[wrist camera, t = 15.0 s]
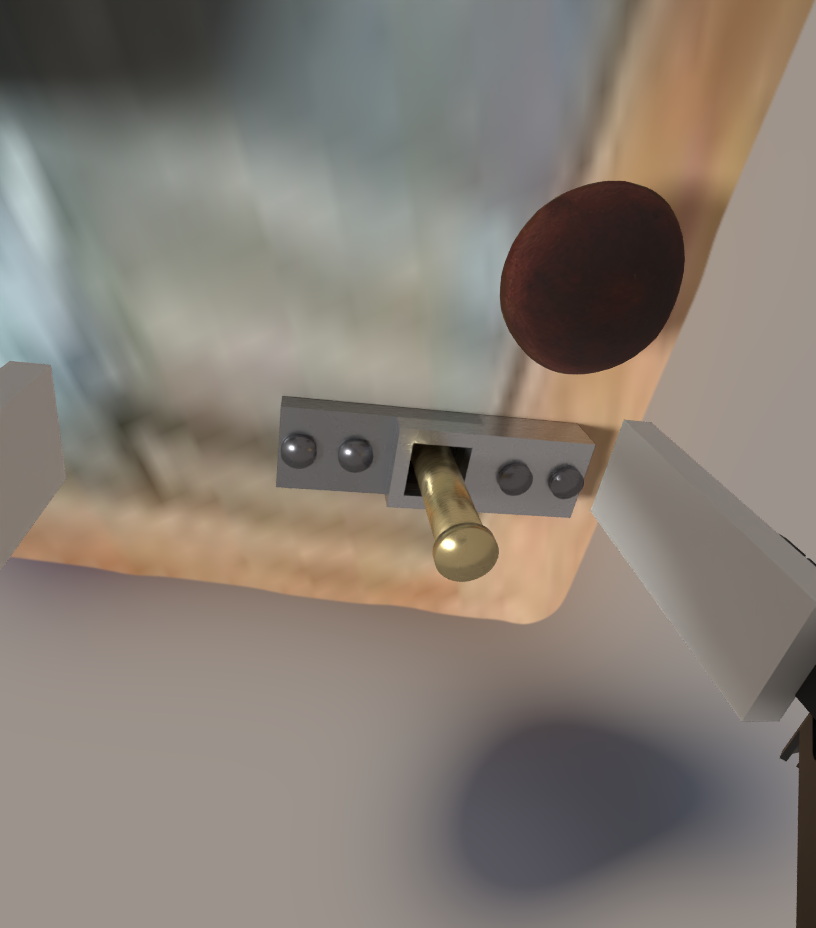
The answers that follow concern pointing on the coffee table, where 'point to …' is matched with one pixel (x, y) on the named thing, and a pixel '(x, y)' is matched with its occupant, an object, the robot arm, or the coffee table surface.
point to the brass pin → (452, 516)
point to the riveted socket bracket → (396, 429)
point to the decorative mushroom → (593, 277)
